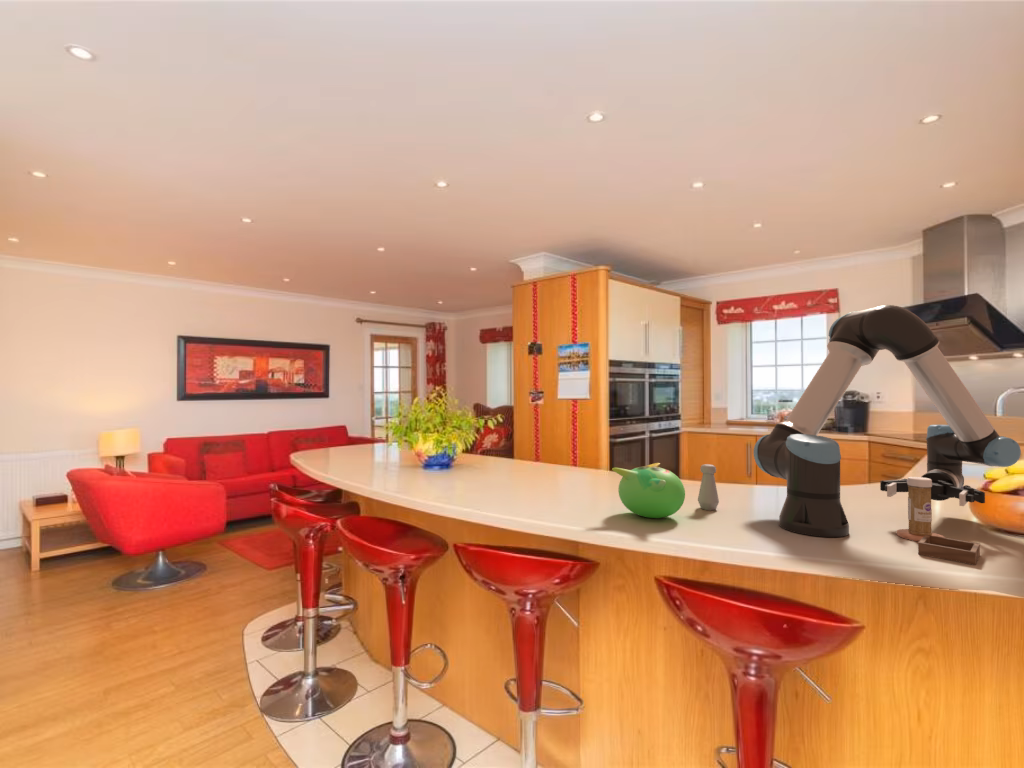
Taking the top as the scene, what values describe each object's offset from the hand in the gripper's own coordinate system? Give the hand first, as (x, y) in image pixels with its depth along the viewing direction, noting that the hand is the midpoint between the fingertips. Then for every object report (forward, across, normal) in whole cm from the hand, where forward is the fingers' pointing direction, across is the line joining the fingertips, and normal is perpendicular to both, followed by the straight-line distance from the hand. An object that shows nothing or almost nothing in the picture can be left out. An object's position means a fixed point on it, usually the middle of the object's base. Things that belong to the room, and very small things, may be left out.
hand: (923, 495), depth 120 cm
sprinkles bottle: (+1, +1, -9) cm, 9 cm away
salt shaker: (+11, +48, -10) cm, 51 cm away
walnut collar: (+13, -6, -10) cm, 17 cm away
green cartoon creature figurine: (+33, +54, -10) cm, 64 cm away
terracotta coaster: (+1, 0, -10) cm, 10 cm away
